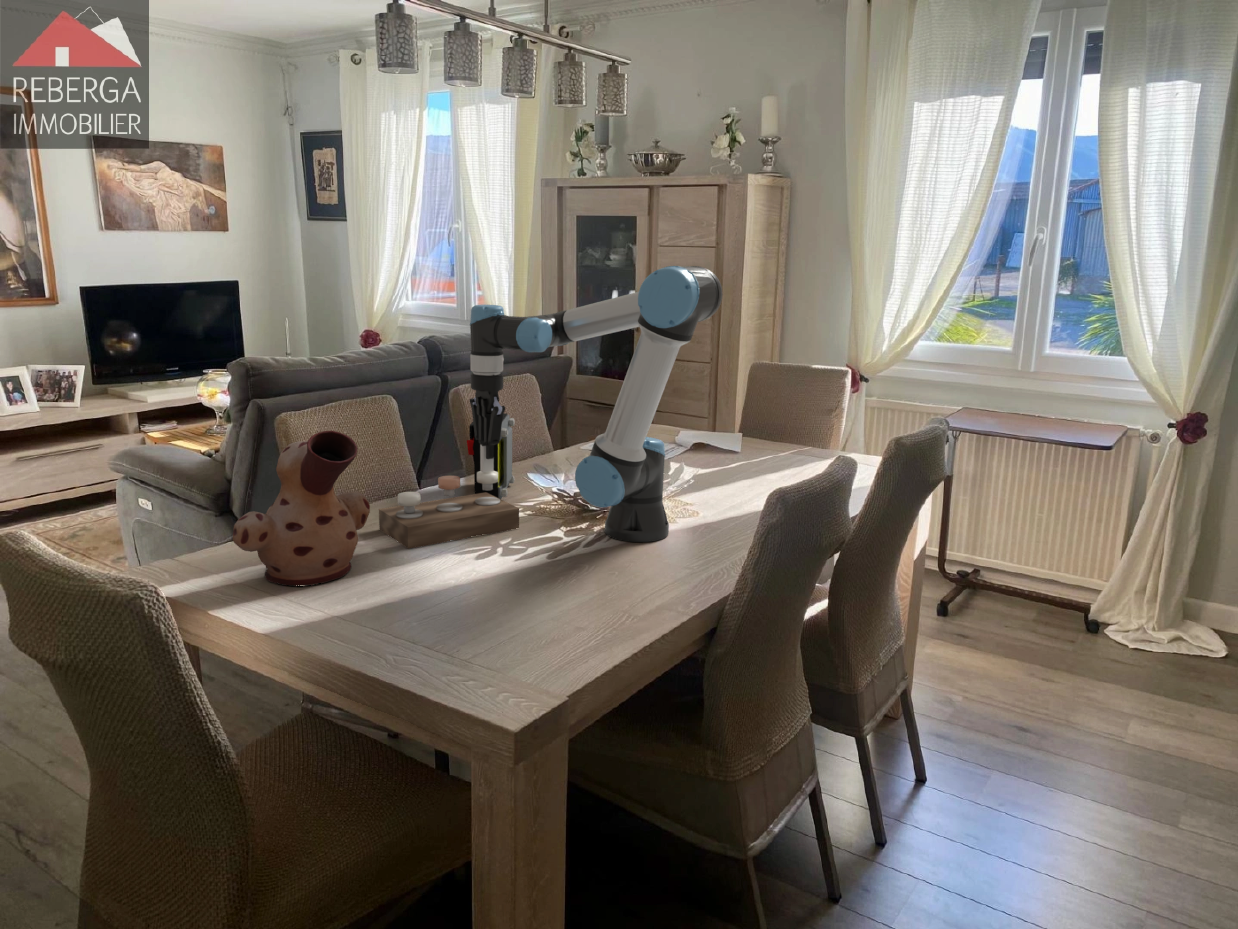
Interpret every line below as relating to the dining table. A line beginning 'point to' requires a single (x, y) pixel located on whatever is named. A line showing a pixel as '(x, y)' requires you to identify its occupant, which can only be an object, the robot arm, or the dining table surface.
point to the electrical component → (495, 458)
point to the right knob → (487, 479)
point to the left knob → (409, 501)
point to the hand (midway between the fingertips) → (486, 471)
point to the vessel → (307, 515)
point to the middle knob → (449, 484)
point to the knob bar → (448, 519)
